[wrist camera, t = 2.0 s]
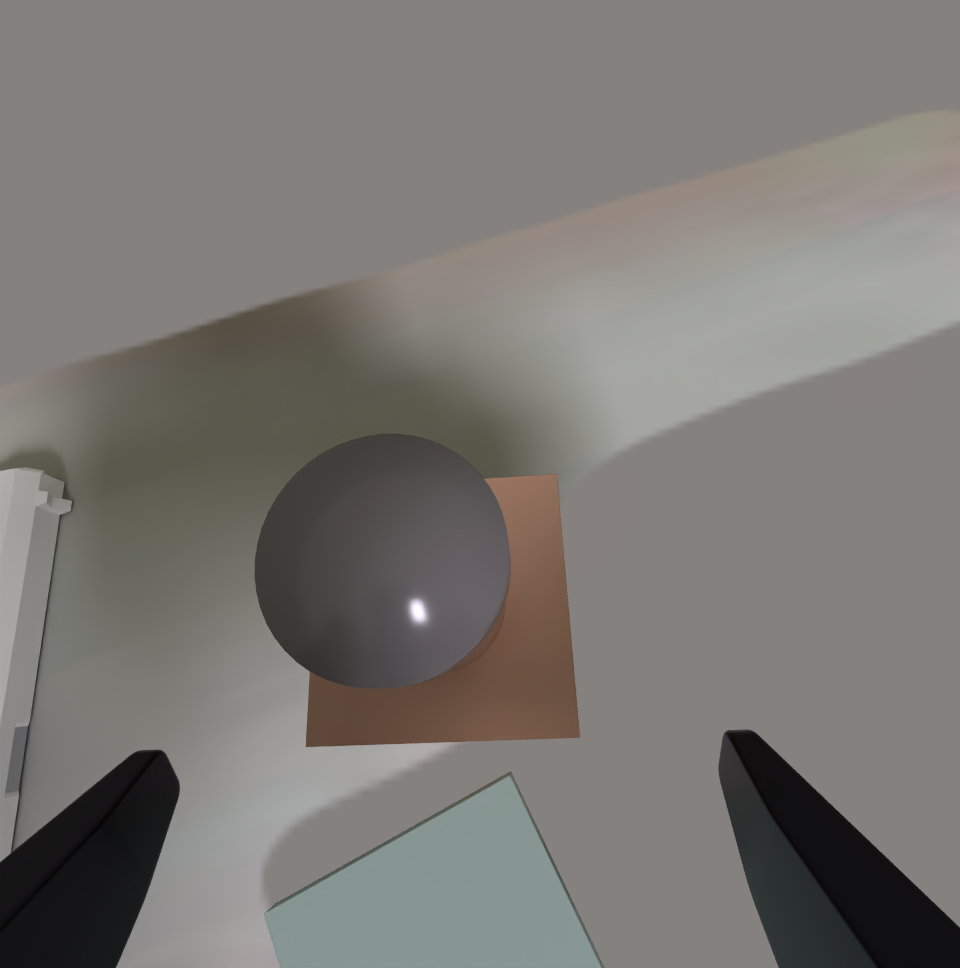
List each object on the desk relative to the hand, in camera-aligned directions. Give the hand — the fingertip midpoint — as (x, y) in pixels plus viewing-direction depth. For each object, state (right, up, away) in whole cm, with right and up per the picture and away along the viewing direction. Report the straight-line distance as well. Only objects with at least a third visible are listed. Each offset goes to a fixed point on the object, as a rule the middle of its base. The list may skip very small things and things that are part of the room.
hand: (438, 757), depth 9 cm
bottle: (+1, -1, +10) cm, 10 cm away
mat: (0, -10, +7) cm, 12 cm away
